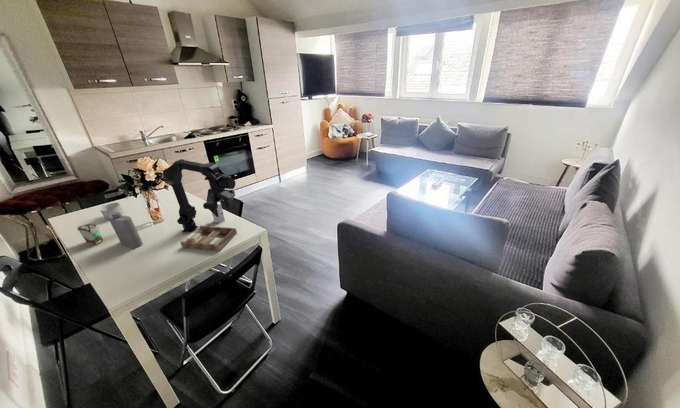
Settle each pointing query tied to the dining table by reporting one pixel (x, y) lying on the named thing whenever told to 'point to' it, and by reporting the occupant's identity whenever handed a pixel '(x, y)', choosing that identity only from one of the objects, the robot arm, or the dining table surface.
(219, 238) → the box
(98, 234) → the food container
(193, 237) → the birch block
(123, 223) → the flask
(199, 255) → the dining table surface
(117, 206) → the teacup
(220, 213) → the skincare box
